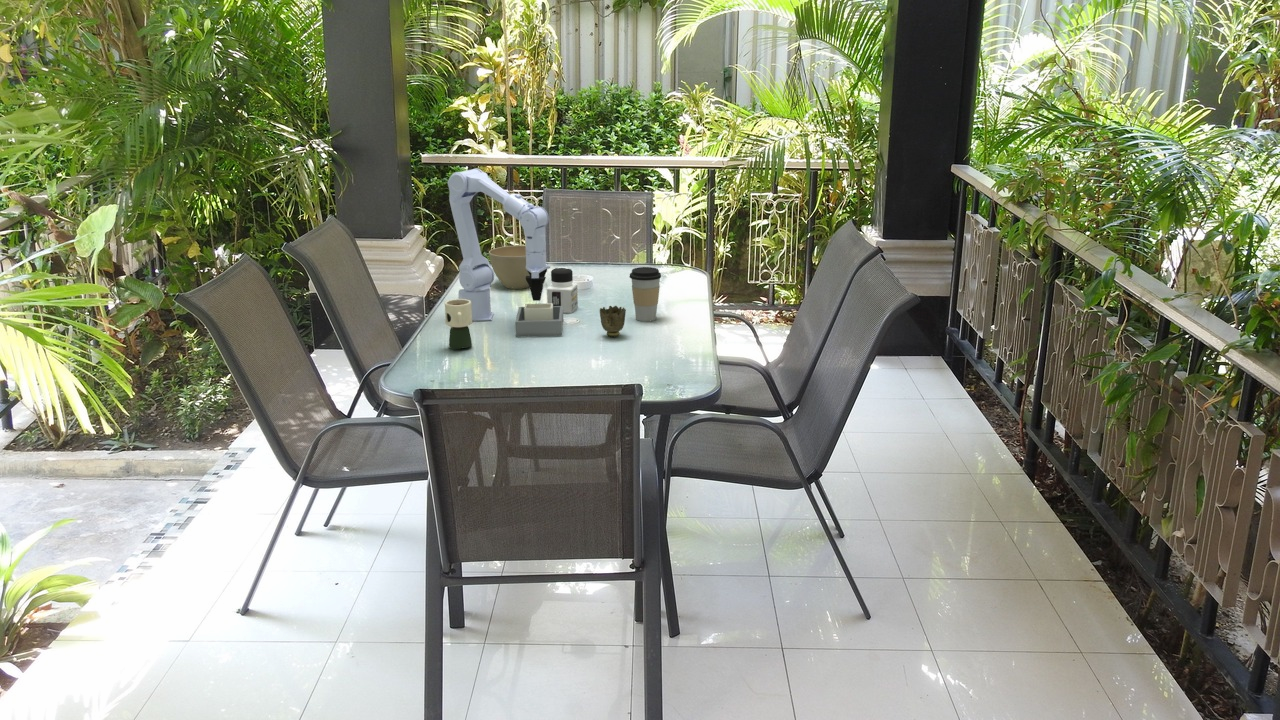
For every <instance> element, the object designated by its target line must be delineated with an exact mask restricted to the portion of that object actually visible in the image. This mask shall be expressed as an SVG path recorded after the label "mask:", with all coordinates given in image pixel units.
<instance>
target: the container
mask: <svg viewBox="0 0 1280 720" xmlns="http://www.w3.org/2000/svg"><path fill="white" fill-rule="evenodd" d="M573 274H574V273H573V270H572V269H571V268H570V267H555V268H553V269H552V270H551V271H550V278H551V279H550V281H551V282H550V283H551V284H550V285H549V286H548V287H547V288H546V301H547V302H546V303H553V306H563V314H573V312H574V311H576V310H577V309H578V306H579V300H578V299H579V297H578V295H579V294H578V292H579V291H578V283H576V282H574V281H573V280H574V278H573Z"/></svg>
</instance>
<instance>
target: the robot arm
mask: <svg viewBox="0 0 1280 720" xmlns="http://www.w3.org/2000/svg"><path fill="white" fill-rule="evenodd" d="M447 187H448V190H449V191H448V192H449V196H448V197H449V198H448V199H449V204H450V208H451V209H450V210H451V213H452V217H453V221H454V224H455V230H456V234H457V239H458V242H459V246H460V250H461V255H462V258H463V259H462V261H461V262H460V264H459V266H458V269H459V270H458V271H459V277H458V278H459V279H458V280H459V284H460V286H461V287H462V289H459V290H458V294H457V295H458V297H457V299H467V300H470V301H471V309H472V322H474V321H475V322H478V321H479V322H480V321H486V322H487V321H492V320H493V316H494V312H493V311H492V307H491V306H492V305H491V290H490V288H491V287H492V283H494V280H495V272H494V270H493V268H492V265H491V263H490V262H489V261H490V260H489V259H488V258H486V257H485V256H484V255H482V251H481V246H480V242H479V238H478V234H477V229H476V226H475V222H474V217H473V213H472V210H471V205H470V203H471V201H472V199H473V198H474V196H475V195H477V193H480V192H481V193H483V194H485V195H486V196H487V197H489V198H491V199H493V200H495V201H497V202H498V203H500V204H502V206H503V207H502V209H503V211H504V212H505V213H507V214H508V215H510V216H512V217H513V218H515V219H516V220H518V221H519V223H520V226H521V227H522V229H523V234H524V239H525V243H524V244H525V245H524V246H526V269H527V270H528V273H529V275H530V276H526V281H527V283H528V284H529V287H528V288H529V289H530V294H531V298H532V301H534V302H535V301H536V302H540V301H541V299H542V294H543V293H542V292H543V288H544V283H545V280H546V275H547V272H548V269H551V264H547V250H546V249H547V247H546V246H547V244H546V226H548V224H549V221H550V217H549V216H550V215H549V214H548V211H547V209H546V208H544V207H543V206H536V205H534V203H533V202H528V201H527V200H526V199H524V198H523V197H522V195H521V193H509V192H507V191H506V190H505V189H504V188H502V187H501V186H499V185H498V184H497V183H496V182H495V181H493V180H492V179H491V178H490V177H489V175H488V173H487V172H485V171H483V170H481V169H480V168H476V167H475V168H473V169H467V170H464V171H455V172H453V173H452V174H451V175H450V177H449V178H448V180H447Z"/></svg>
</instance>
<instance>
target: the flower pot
mask: <svg viewBox="0 0 1280 720" xmlns="http://www.w3.org/2000/svg"><path fill="white" fill-rule="evenodd" d="M488 256H489V257H488V258H489V261H490V262H489V263H490V266H491V268H492V269H493V271H494V275H495V276H496V278H497V279H498V280H499V281H500V282H501V284H502V285H503V286H504V287H505V288H507V289H512V290H513V289H514V290H520V289H526V288H527V289H528V288H530V287H529V284H528V283H527V281H526V276H530V275H529V273H528V270H527V269H526V245H506V246H505V245H504V246H500V247H495V248H492V249H490V250H489V251H488Z"/></svg>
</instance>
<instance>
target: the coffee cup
mask: <svg viewBox="0 0 1280 720" xmlns="http://www.w3.org/2000/svg"><path fill="white" fill-rule="evenodd" d="M629 278H630V279H631V291H632V299H633V304H634V312H635V320H637V321H639V322H644V323H645V322H647V323H648V322H653V321H655V320H656V319H657V309H658V304H659V295H660V288H661V287H660V280H661V278H662V273H661V272H660V271H659V269H658V268H656V267H651V266H650V267H649V266H640V267H634V268H632V269H631V272H630V273H629Z"/></svg>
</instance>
